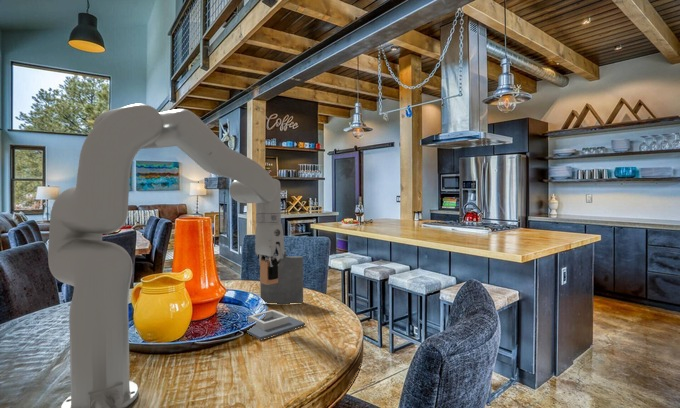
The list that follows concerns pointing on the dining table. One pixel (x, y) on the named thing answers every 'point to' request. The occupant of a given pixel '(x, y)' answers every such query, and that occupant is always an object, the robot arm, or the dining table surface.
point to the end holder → (272, 324)
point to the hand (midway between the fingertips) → (268, 277)
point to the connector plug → (265, 272)
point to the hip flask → (286, 282)
